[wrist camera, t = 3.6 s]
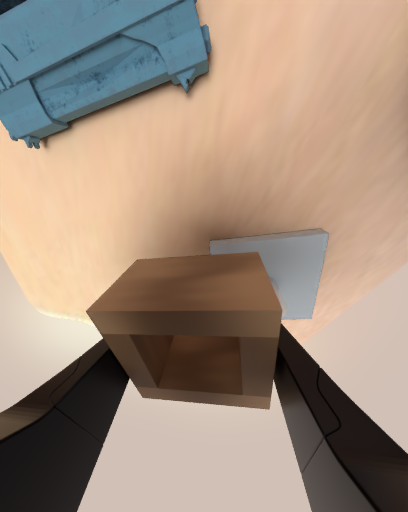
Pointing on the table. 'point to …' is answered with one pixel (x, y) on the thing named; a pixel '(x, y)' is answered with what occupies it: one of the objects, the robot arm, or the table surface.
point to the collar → (195, 328)
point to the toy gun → (90, 57)
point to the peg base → (286, 265)
